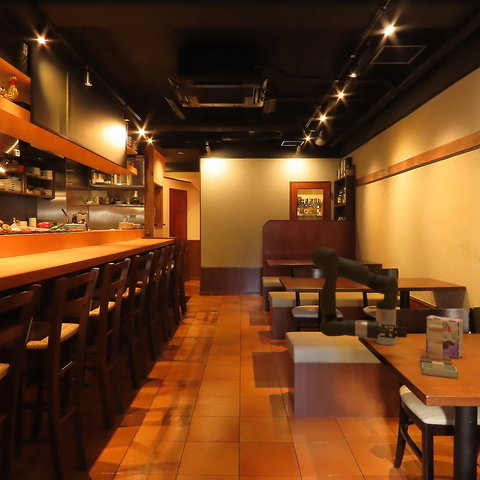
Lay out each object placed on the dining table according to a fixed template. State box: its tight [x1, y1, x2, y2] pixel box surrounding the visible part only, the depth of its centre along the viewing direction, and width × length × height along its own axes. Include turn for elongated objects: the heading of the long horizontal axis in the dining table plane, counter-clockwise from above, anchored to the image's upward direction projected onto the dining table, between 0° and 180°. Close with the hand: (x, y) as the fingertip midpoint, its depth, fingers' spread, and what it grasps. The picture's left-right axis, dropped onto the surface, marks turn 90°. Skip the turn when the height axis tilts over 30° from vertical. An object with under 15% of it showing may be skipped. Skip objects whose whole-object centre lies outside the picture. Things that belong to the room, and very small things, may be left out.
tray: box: [421, 362, 459, 379], centre depth 154 cm, size 8×12×2 cm, turn 68°
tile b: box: [432, 361, 444, 370], centre depth 152 cm, size 4×4×2 cm
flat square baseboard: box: [420, 352, 453, 369], centre depth 163 cm, size 11×11×3 cm
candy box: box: [425, 315, 464, 360], centre depth 179 cm, size 14×6×16 cm, turn 44°
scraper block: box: [427, 324, 443, 360], centre depth 165 cm, size 5×5×13 cm
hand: (406, 332), depth 169 cm, fingers open, 8 cm apart
